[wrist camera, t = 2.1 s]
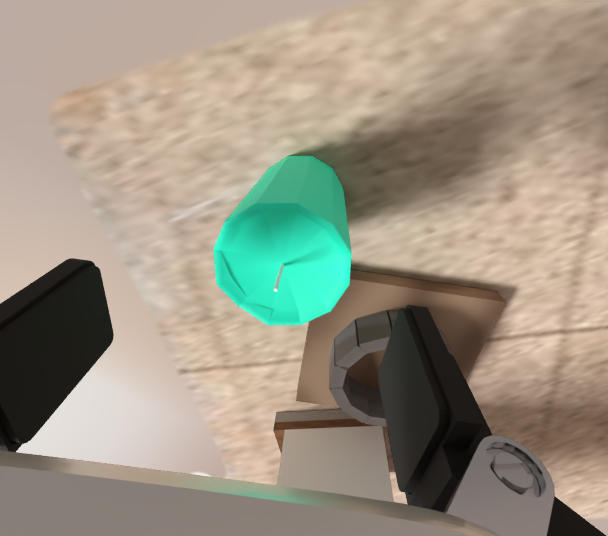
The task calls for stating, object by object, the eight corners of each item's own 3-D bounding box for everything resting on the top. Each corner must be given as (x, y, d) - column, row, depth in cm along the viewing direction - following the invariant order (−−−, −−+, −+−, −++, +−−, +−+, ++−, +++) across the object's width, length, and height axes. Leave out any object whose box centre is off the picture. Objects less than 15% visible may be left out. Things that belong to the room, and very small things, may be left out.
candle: (299, 133, 21) (267, 175, 10) (362, 198, 22) (389, 293, 12) (242, 198, 23) (166, 287, 12) (302, 252, 25) (281, 371, 14)
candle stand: (497, 291, 25) (528, 328, 21) (437, 409, 32) (453, 454, 28) (318, 264, 25) (316, 296, 21) (297, 388, 32) (292, 429, 28)
